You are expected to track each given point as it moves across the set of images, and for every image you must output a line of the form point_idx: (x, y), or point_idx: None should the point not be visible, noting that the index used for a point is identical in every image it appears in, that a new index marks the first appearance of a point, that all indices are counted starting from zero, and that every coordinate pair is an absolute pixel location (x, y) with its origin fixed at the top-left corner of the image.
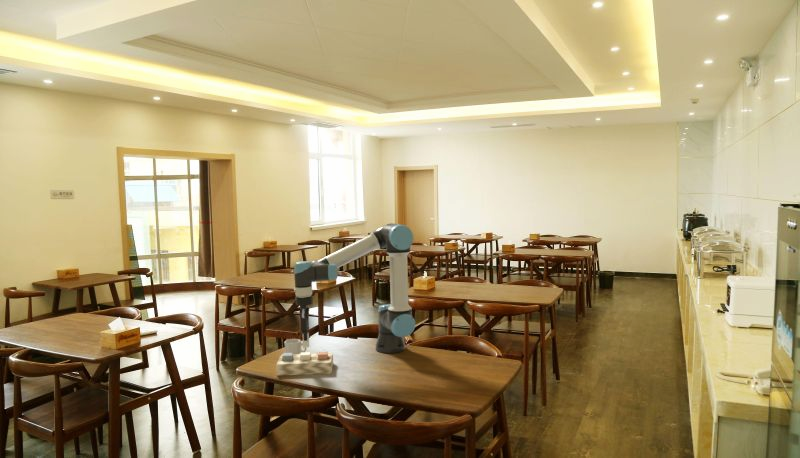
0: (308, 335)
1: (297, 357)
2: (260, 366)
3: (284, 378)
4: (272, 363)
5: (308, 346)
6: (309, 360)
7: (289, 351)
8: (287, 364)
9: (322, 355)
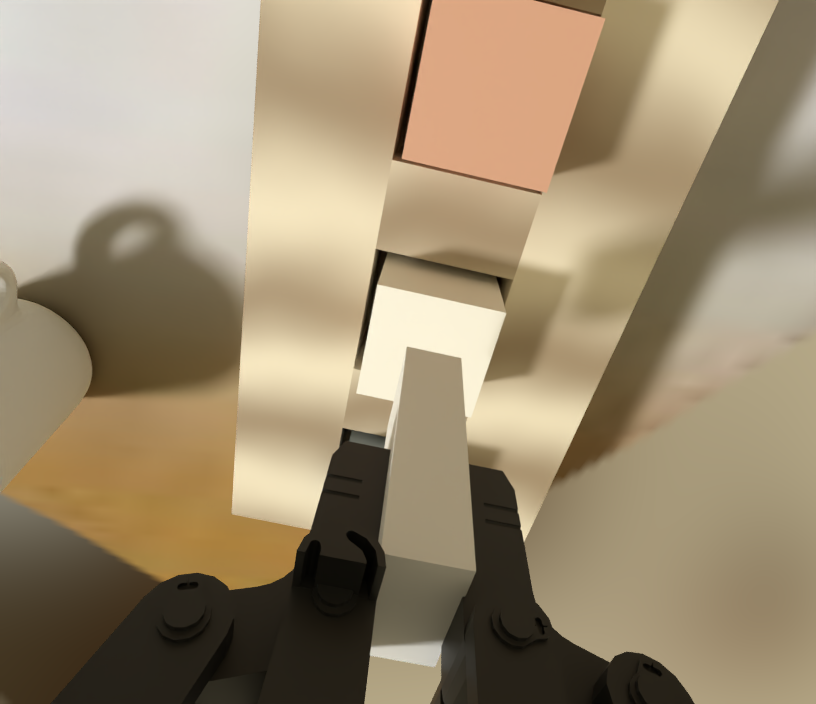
0: (457, 511)
1: (363, 399)
2: (264, 560)
3: (594, 456)
4: (208, 496)
5: (459, 371)
6: (527, 292)
7: (58, 421)
8: (543, 494)
9: (567, 114)
